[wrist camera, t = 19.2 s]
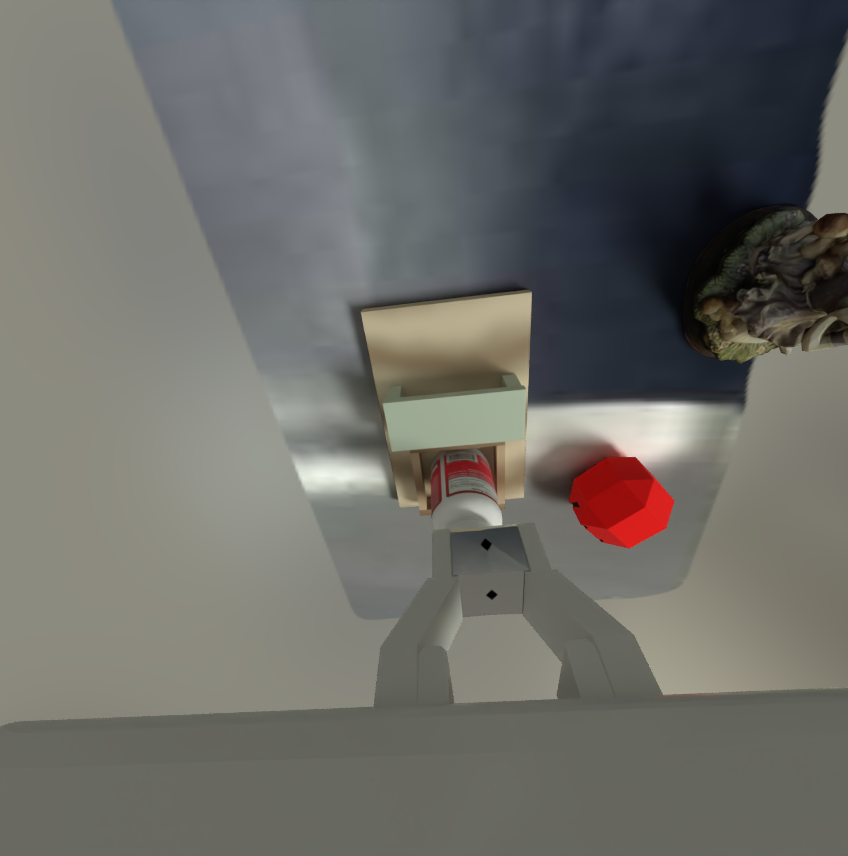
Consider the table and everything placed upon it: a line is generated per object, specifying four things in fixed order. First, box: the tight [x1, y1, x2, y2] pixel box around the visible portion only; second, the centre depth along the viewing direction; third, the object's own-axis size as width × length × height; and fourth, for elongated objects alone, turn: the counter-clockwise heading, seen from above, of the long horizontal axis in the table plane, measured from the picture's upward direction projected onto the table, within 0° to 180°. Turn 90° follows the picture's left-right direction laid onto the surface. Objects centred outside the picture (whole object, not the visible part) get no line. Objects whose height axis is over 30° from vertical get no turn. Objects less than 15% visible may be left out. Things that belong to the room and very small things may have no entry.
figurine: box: [683, 205, 848, 364], centre depth 23 cm, size 12×11×15 cm
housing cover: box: [383, 374, 526, 452], centre depth 33 cm, size 5×12×3 cm, turn 97°
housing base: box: [361, 290, 532, 516], centre depth 35 cm, size 22×14×3 cm, turn 7°
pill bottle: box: [431, 448, 502, 530], centre depth 33 cm, size 6×6×11 cm
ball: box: [569, 457, 674, 548], centre depth 37 cm, size 8×8×8 cm
